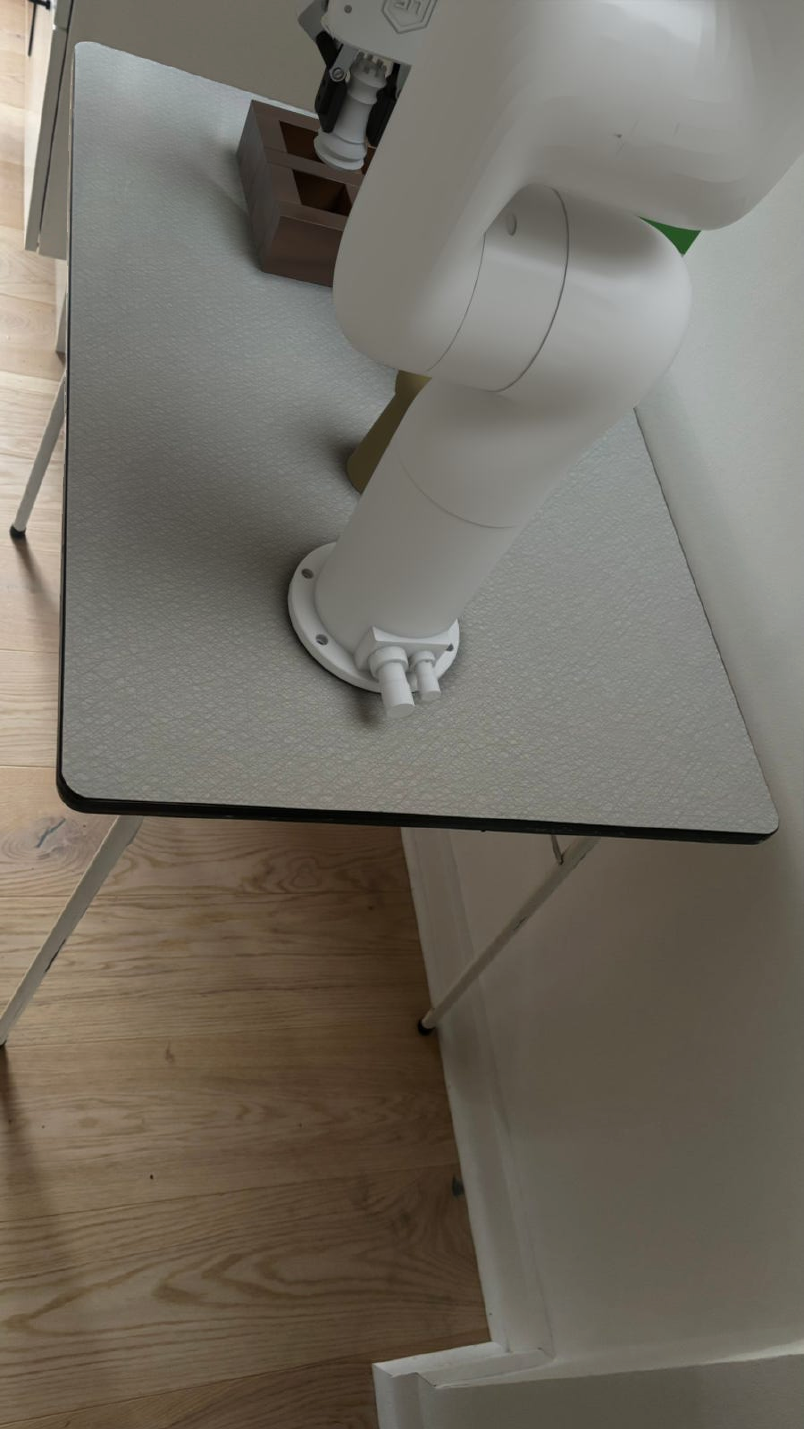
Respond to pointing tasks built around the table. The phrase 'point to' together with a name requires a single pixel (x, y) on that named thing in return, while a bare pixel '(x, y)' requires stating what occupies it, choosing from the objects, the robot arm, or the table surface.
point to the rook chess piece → (353, 116)
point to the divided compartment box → (294, 193)
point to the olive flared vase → (383, 429)
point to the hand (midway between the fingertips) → (347, 128)
